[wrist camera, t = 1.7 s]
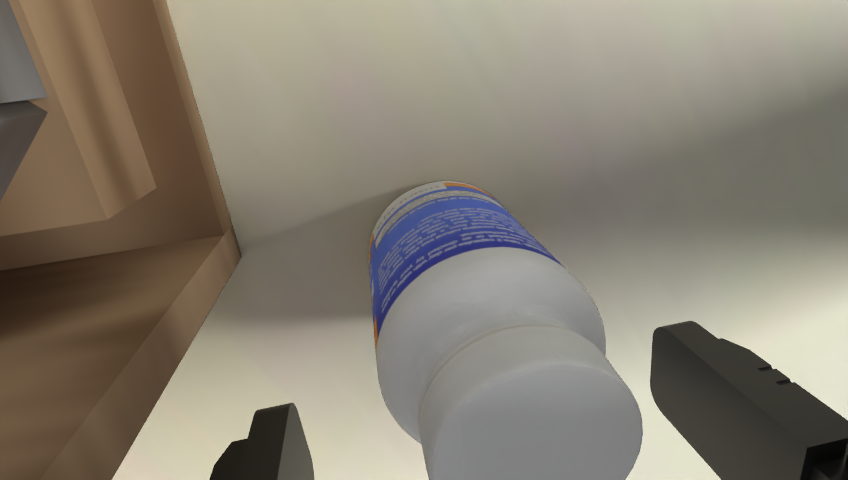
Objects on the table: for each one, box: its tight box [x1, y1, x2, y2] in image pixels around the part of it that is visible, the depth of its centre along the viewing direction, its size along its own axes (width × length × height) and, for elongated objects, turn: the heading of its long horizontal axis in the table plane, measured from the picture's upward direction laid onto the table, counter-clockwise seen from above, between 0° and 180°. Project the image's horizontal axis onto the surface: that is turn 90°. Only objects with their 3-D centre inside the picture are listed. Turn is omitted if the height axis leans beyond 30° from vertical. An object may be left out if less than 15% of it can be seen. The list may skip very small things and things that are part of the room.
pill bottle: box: [368, 181, 643, 480], centre depth 13 cm, size 5×5×10 cm
